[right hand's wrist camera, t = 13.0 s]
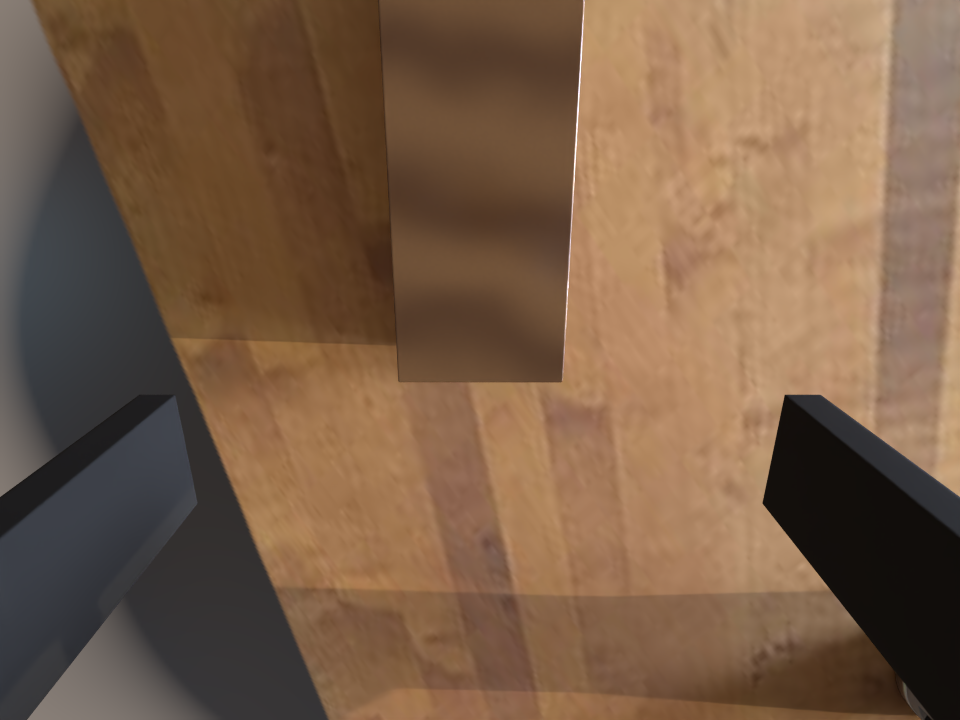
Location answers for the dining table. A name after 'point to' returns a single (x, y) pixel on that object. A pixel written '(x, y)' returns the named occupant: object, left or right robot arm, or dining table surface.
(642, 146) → the dining table surface
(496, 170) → the wide beam
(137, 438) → the right robot arm
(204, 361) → the dining table surface
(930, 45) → the dining table surface
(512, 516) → the dining table surface
